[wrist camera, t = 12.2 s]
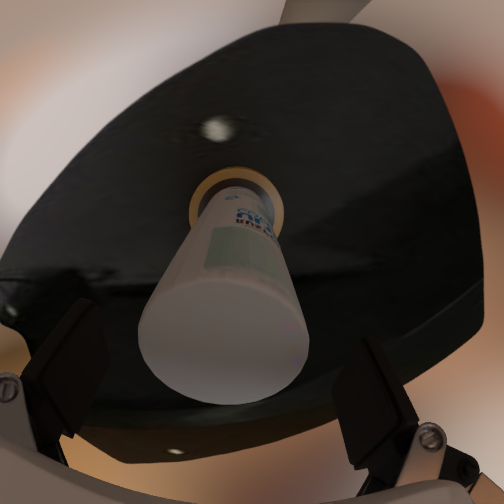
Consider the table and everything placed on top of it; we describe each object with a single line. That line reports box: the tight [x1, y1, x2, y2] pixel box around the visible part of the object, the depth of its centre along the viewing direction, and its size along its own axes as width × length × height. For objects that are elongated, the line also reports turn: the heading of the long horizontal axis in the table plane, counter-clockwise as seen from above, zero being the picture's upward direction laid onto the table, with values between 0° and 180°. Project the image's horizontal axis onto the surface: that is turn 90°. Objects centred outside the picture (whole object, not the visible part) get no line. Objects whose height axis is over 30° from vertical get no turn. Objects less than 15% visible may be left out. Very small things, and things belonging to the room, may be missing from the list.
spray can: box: [138, 187, 309, 404], centre depth 19 cm, size 6×6×20 cm
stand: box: [189, 166, 284, 238], centre depth 29 cm, size 10×10×3 cm
